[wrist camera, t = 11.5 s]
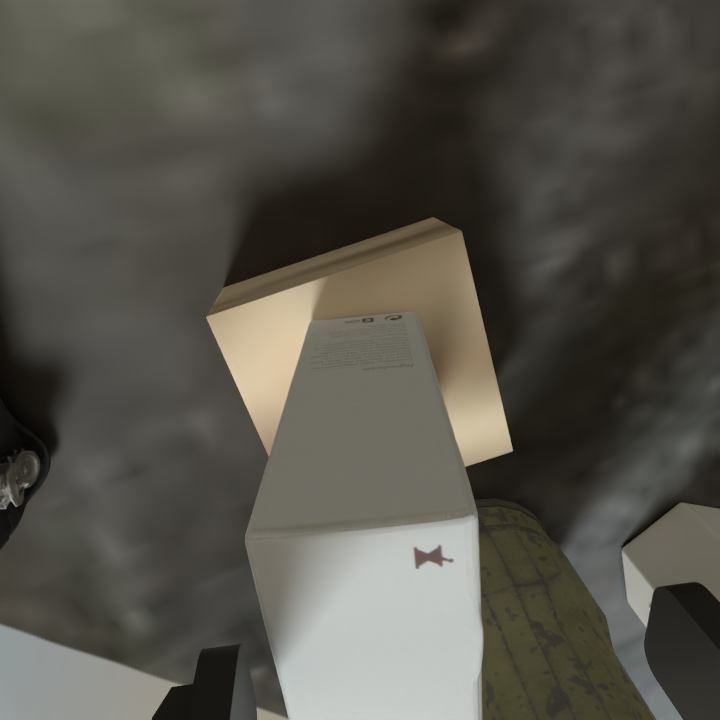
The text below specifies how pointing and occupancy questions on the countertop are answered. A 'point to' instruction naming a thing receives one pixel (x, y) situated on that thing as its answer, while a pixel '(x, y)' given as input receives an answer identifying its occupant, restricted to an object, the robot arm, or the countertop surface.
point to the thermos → (543, 629)
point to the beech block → (365, 298)
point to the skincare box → (369, 534)
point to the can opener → (18, 470)
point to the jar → (673, 555)
